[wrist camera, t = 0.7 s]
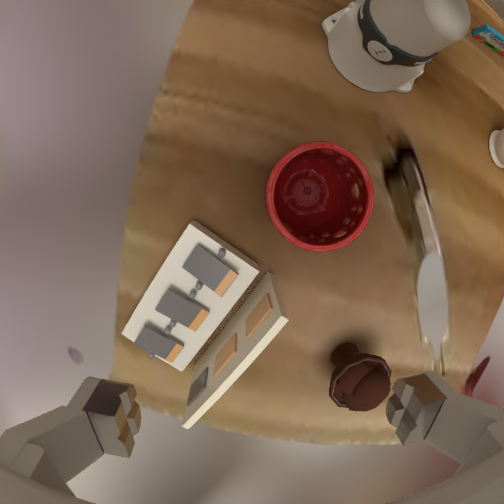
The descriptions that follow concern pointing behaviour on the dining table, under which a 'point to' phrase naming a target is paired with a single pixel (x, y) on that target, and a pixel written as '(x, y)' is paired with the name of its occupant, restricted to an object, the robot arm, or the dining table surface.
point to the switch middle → (182, 309)
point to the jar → (497, 147)
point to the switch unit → (212, 318)
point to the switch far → (158, 343)
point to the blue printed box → (490, 38)
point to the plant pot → (319, 196)
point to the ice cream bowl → (358, 379)
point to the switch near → (210, 270)
